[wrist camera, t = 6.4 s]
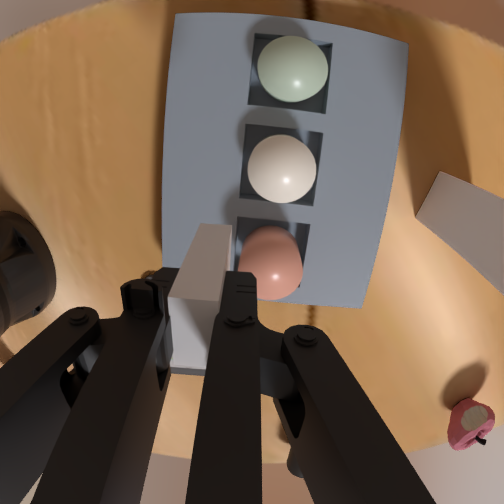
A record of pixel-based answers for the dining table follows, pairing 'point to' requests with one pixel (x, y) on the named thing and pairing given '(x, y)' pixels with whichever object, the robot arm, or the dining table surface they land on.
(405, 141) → the dining table surface
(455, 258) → the dining table surface
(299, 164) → the button cream
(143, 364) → the robot arm
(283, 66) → the button sage
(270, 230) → the button terracotta
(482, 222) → the milk
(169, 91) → the console
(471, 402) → the apple
